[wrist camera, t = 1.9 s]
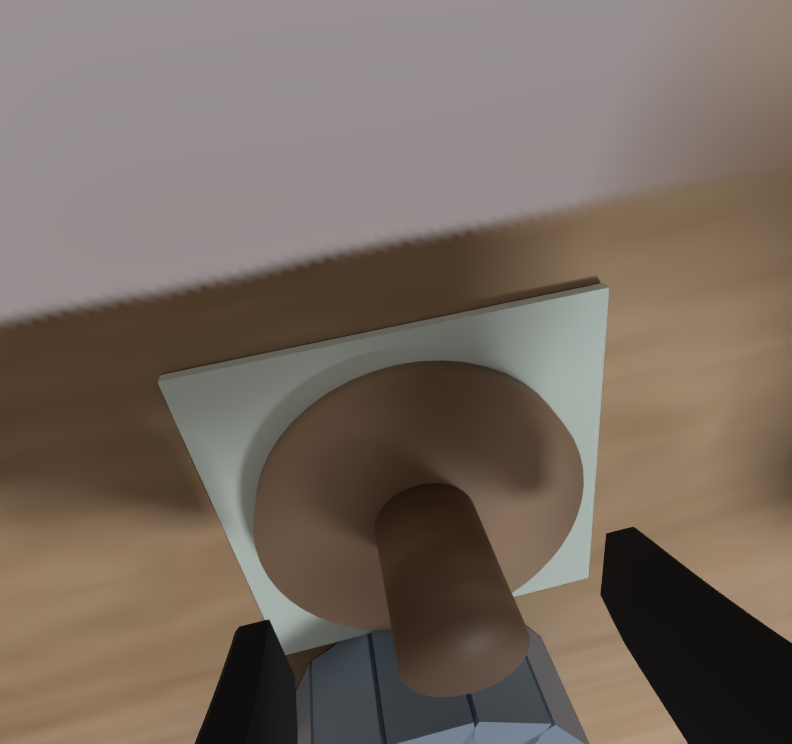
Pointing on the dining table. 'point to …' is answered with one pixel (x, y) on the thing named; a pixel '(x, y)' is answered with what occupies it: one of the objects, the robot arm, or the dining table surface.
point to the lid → (421, 514)
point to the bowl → (429, 702)
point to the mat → (366, 352)
